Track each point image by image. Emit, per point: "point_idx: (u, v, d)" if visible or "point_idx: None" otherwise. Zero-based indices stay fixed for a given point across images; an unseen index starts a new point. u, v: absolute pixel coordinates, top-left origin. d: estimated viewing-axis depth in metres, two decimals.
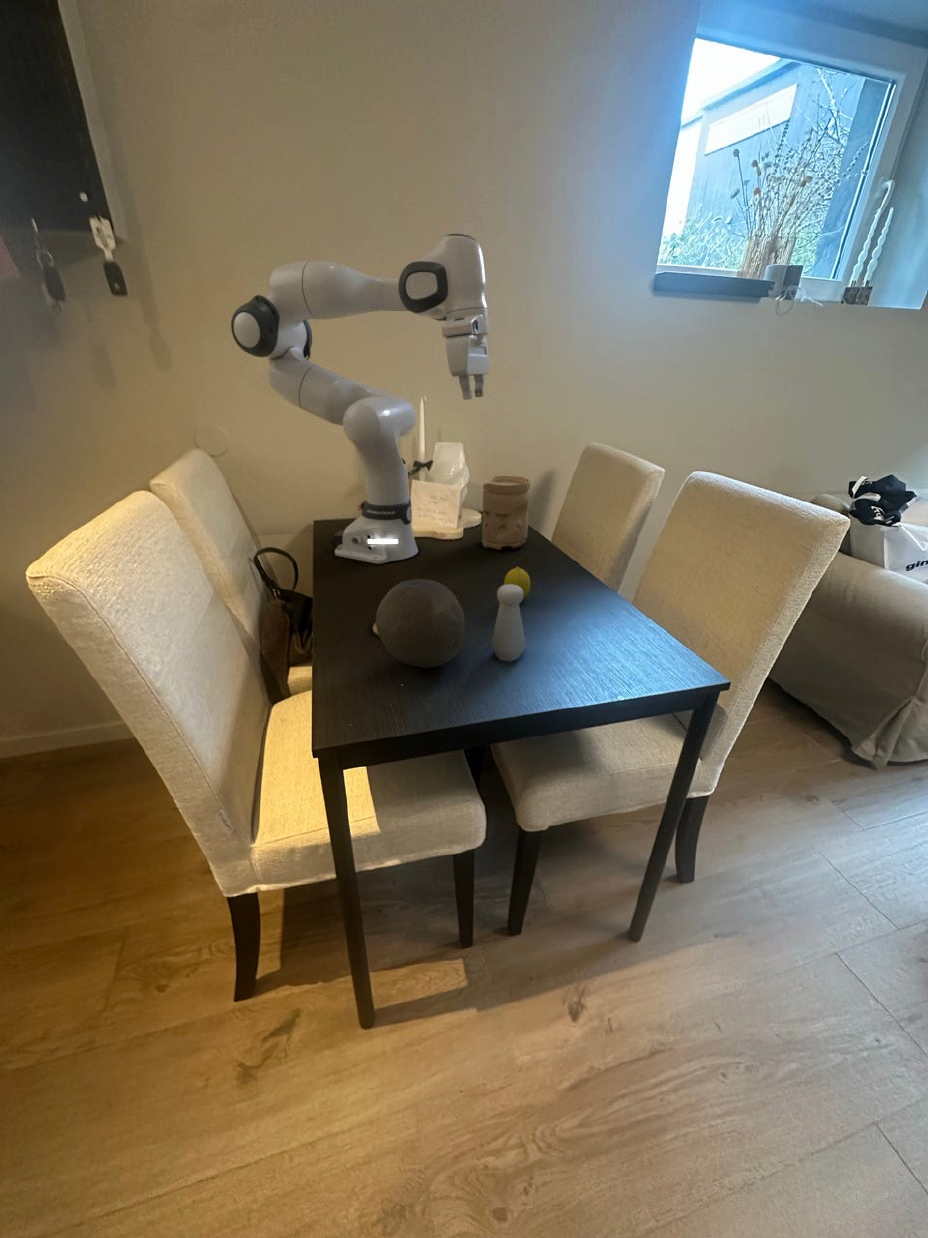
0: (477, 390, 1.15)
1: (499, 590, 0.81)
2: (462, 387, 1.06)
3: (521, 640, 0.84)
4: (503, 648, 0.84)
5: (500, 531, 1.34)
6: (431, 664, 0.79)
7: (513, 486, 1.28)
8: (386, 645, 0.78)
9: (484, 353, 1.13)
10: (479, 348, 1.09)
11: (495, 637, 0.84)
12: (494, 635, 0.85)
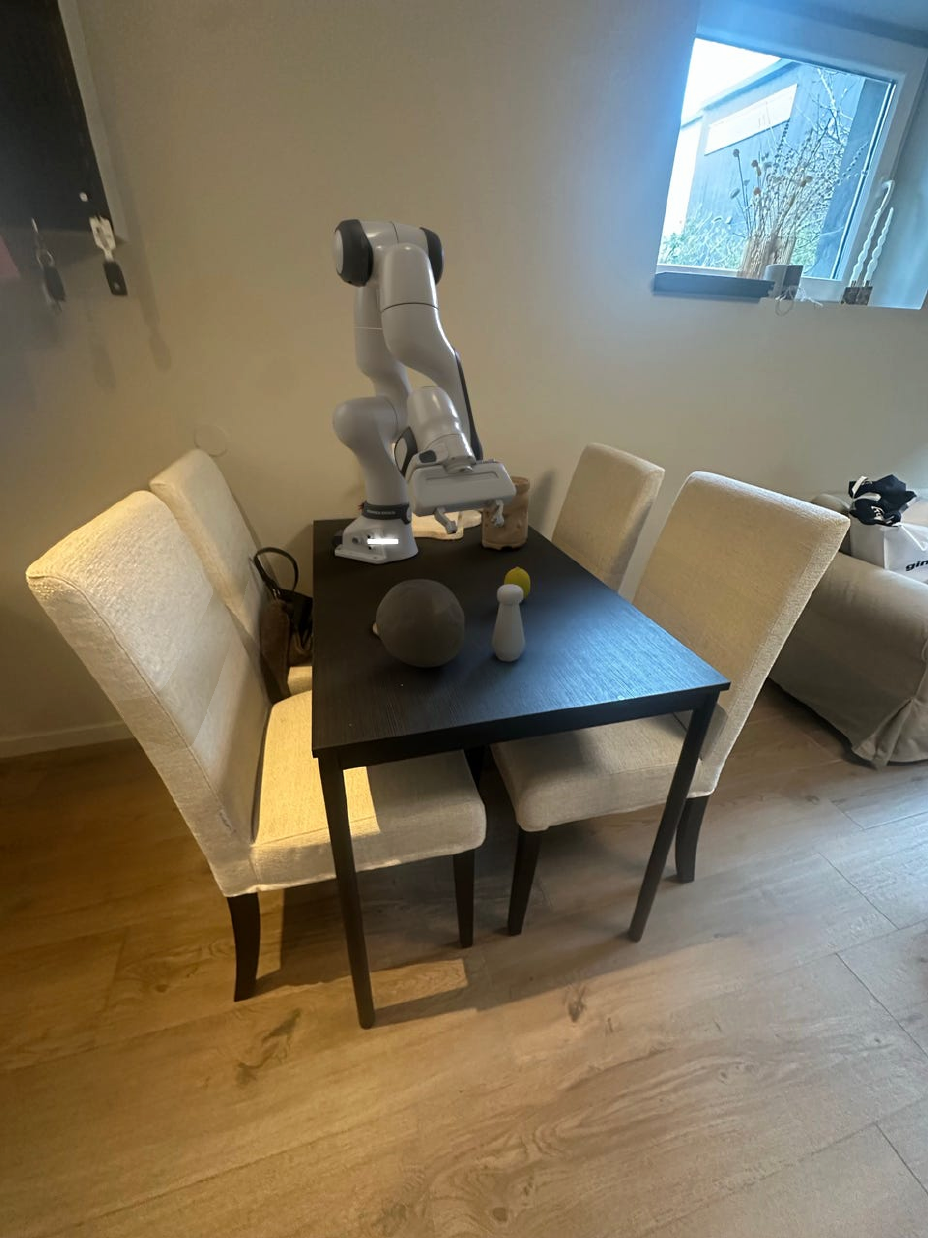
0: (493, 519, 0.90)
1: (499, 590, 0.81)
2: (440, 523, 0.87)
3: (521, 640, 0.84)
4: (503, 648, 0.84)
5: (500, 531, 1.34)
6: (431, 664, 0.79)
7: None
8: (386, 645, 0.78)
9: (493, 477, 0.92)
10: (473, 475, 0.90)
11: (495, 637, 0.84)
12: (494, 635, 0.85)
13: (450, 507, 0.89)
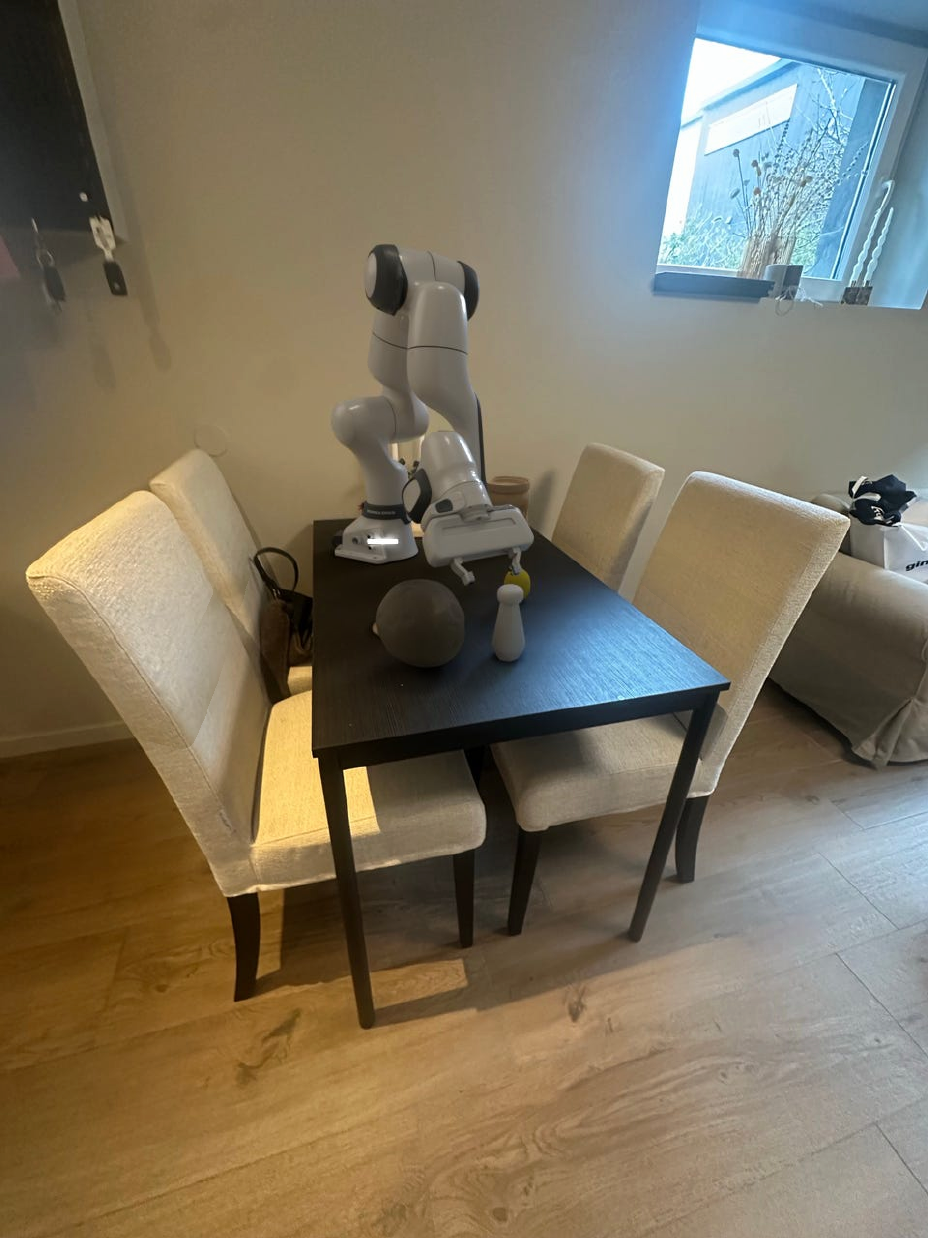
0: (510, 567, 0.88)
1: (499, 590, 0.81)
2: (457, 573, 0.85)
3: (521, 640, 0.84)
4: (503, 648, 0.84)
5: None
6: (431, 664, 0.79)
7: (513, 486, 1.28)
8: (386, 645, 0.78)
9: (510, 524, 0.89)
10: (490, 523, 0.88)
11: (495, 637, 0.84)
12: (494, 635, 0.85)
13: (467, 556, 0.87)
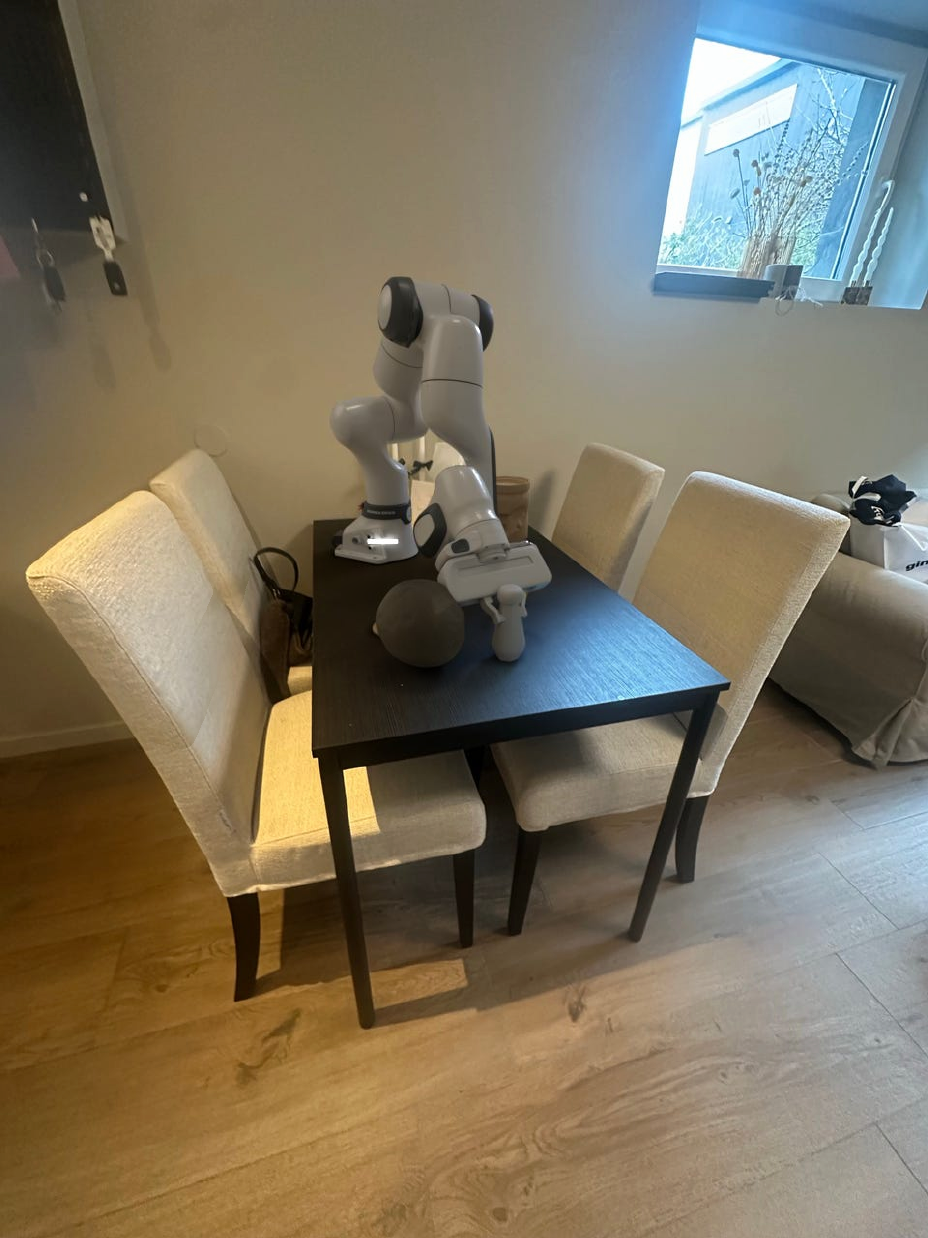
0: None
1: (499, 590, 0.81)
2: (487, 612, 0.83)
3: (521, 640, 0.84)
4: (503, 648, 0.84)
5: None
6: (431, 664, 0.79)
7: (513, 486, 1.28)
8: (386, 645, 0.78)
9: (528, 563, 0.87)
10: (506, 562, 0.85)
11: (495, 637, 0.84)
12: (494, 635, 0.85)
13: None
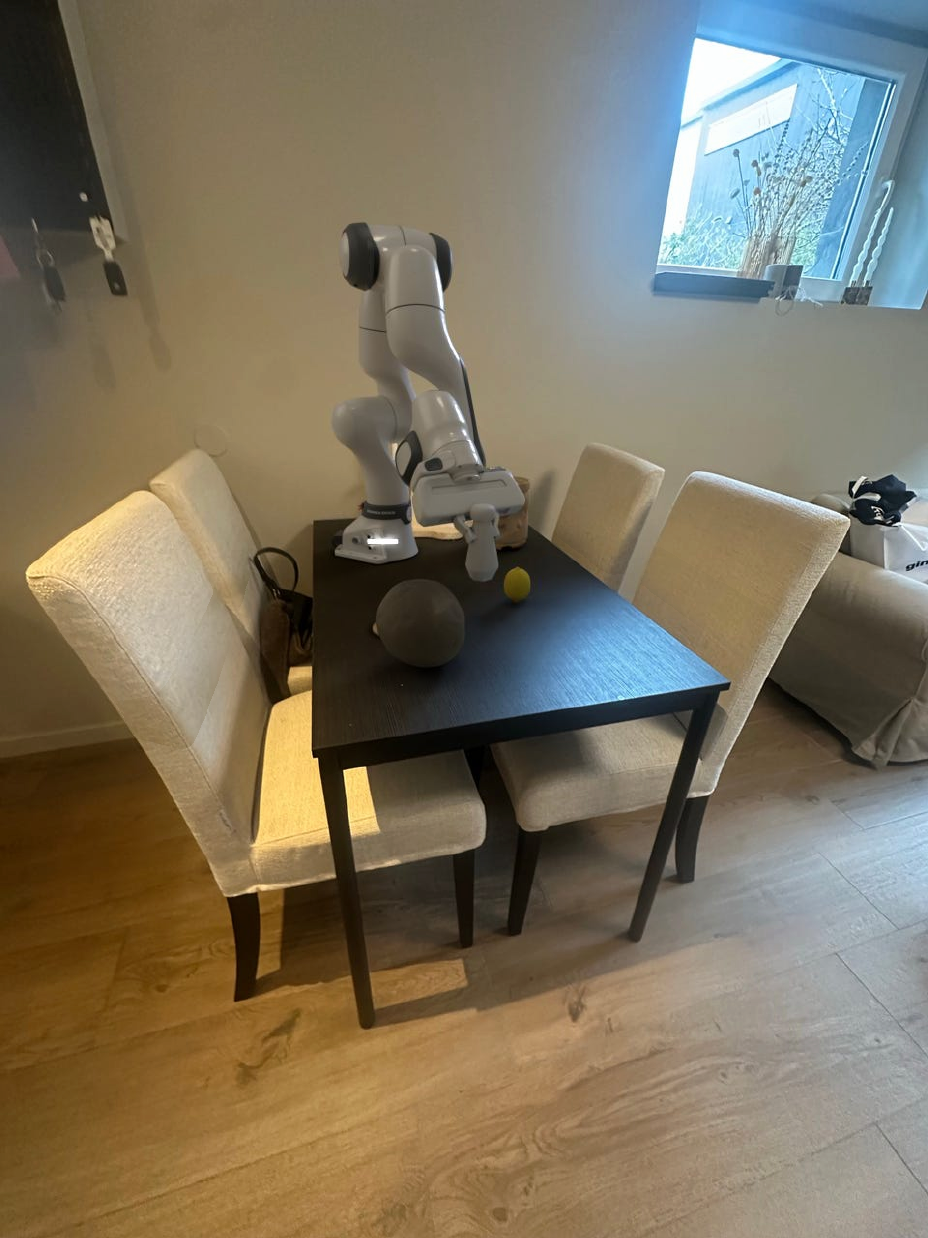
0: None
1: (471, 507, 0.83)
2: (460, 531, 0.85)
3: (494, 559, 0.86)
4: (475, 567, 0.85)
5: (500, 531, 1.34)
6: (431, 664, 0.79)
7: None
8: (386, 645, 0.78)
9: (501, 486, 0.88)
10: (480, 484, 0.87)
11: (468, 557, 0.86)
12: (467, 555, 0.86)
13: None
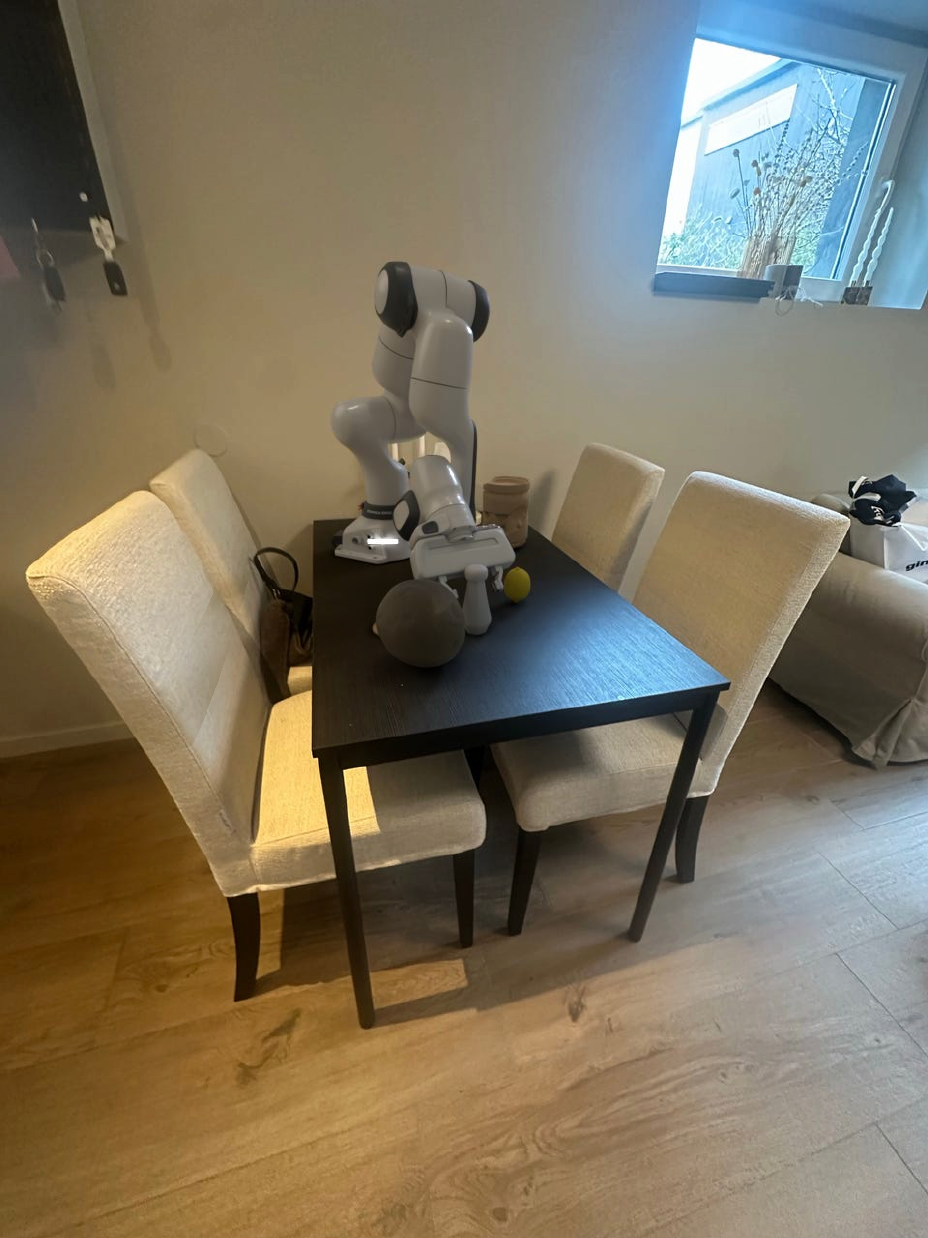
0: (493, 584, 0.94)
1: (466, 569, 0.90)
2: None
3: (487, 615, 0.92)
4: (470, 622, 0.92)
5: None
6: (431, 664, 0.79)
7: (513, 486, 1.28)
8: (386, 645, 0.78)
9: (493, 544, 0.95)
10: (473, 543, 0.94)
11: (463, 612, 0.93)
12: (463, 611, 0.93)
13: (452, 574, 0.93)
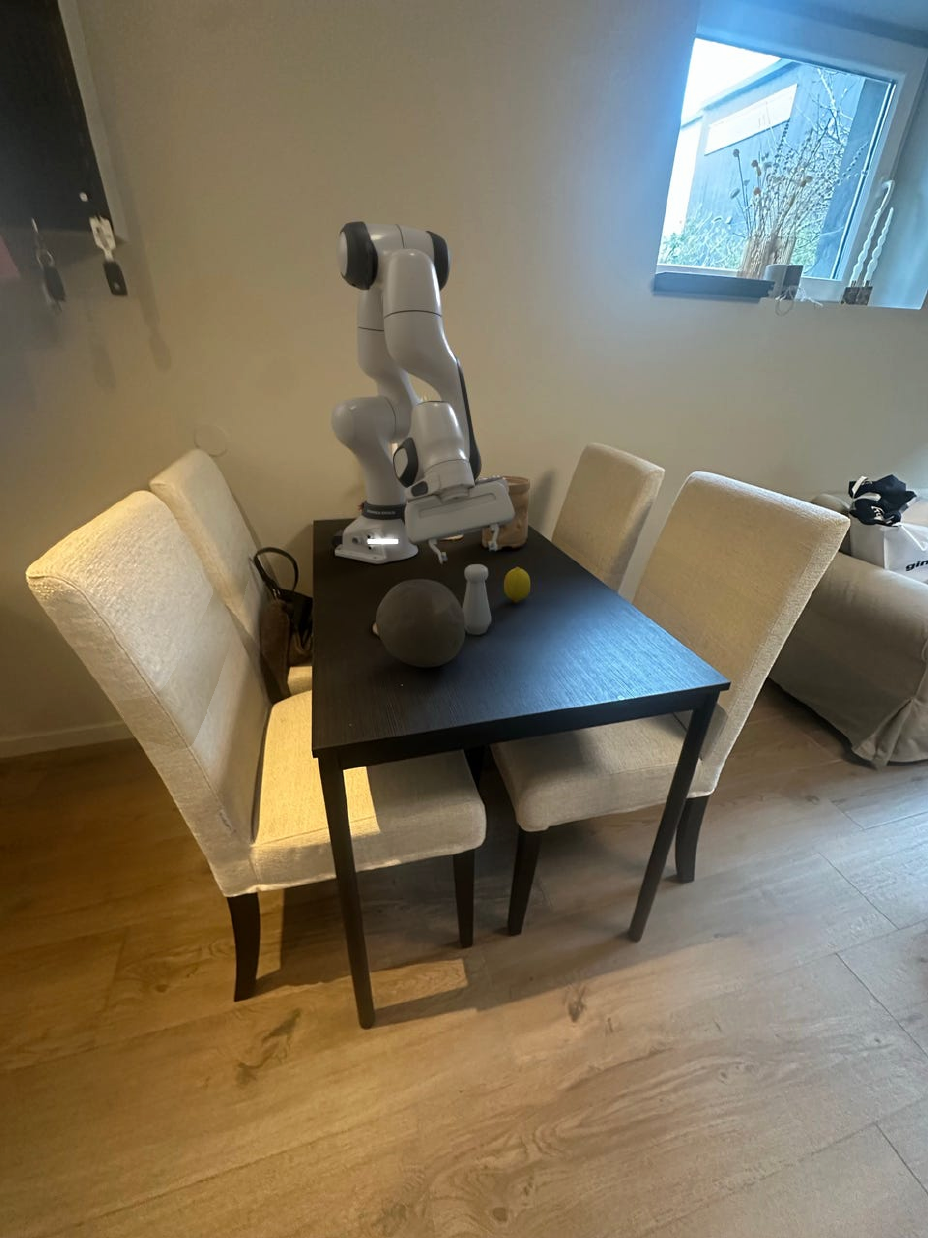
0: (488, 544, 0.92)
1: (466, 569, 0.90)
2: (434, 552, 0.92)
3: (487, 615, 0.92)
4: (470, 622, 0.92)
5: (500, 531, 1.34)
6: (431, 664, 0.79)
7: (513, 486, 1.28)
8: (386, 645, 0.78)
9: (491, 500, 0.91)
10: (468, 500, 0.91)
11: (463, 612, 0.93)
12: (463, 611, 0.93)
13: None
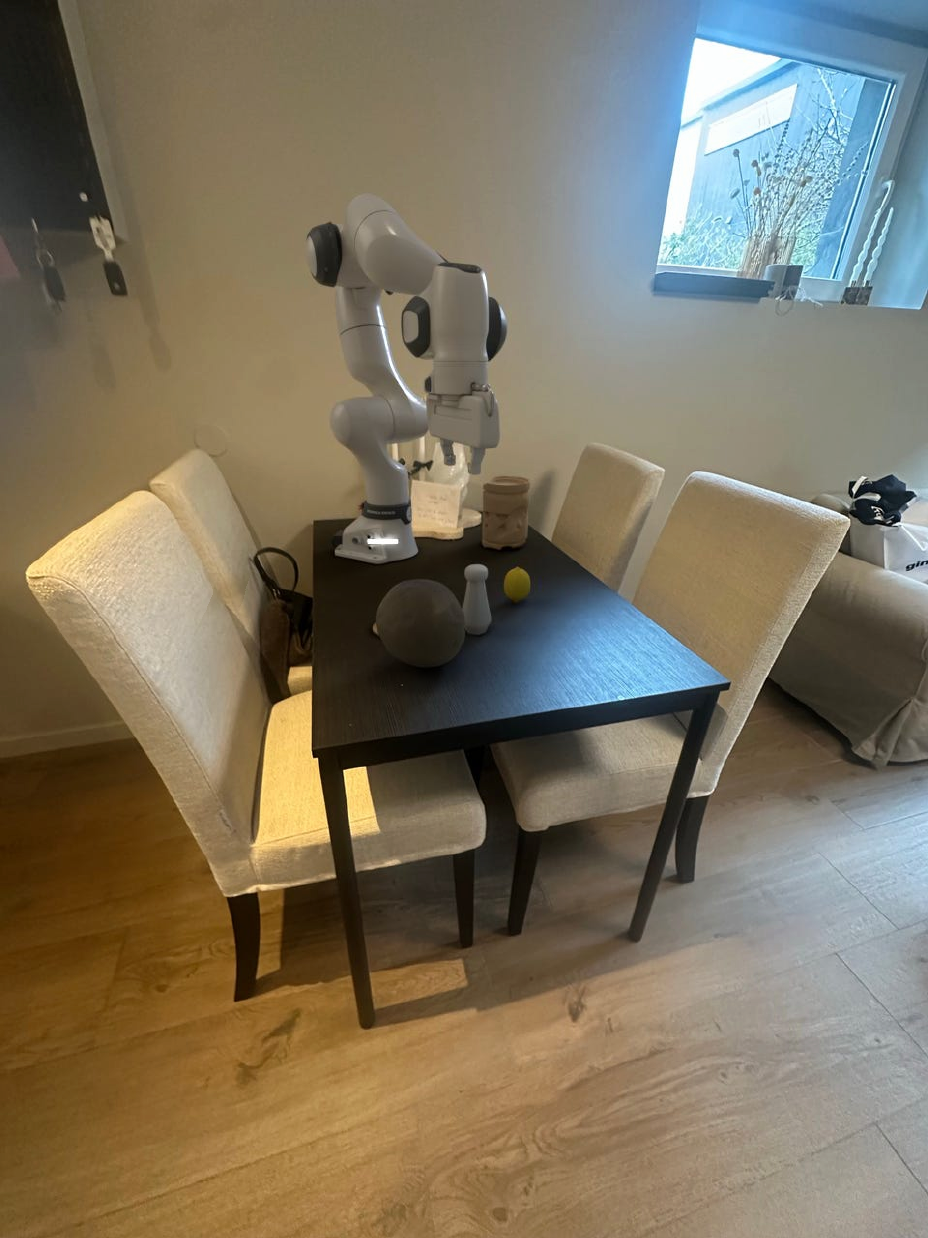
0: None
1: (466, 569, 0.90)
2: None
3: (487, 615, 0.92)
4: (470, 622, 0.92)
5: (500, 531, 1.34)
6: (431, 664, 0.79)
7: (513, 486, 1.28)
8: (386, 645, 0.78)
9: (470, 418, 0.78)
10: (459, 410, 0.80)
11: (463, 612, 0.93)
12: (463, 611, 0.93)
13: None
